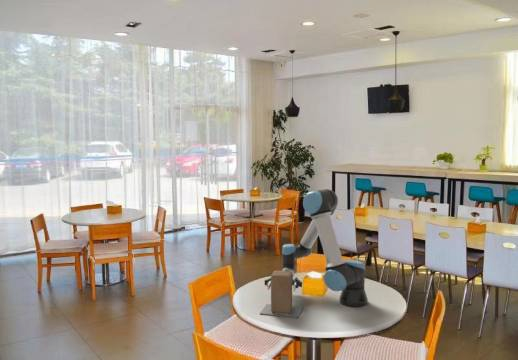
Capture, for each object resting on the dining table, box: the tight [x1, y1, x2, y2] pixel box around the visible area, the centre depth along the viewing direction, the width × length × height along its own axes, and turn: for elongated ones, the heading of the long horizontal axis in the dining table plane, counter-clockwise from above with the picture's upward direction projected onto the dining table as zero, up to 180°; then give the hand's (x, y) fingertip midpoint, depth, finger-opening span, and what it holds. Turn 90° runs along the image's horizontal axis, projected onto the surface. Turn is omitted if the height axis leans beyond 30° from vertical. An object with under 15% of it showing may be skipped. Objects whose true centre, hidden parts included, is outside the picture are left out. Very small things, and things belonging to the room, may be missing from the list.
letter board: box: [259, 303, 304, 319], centre depth 247 cm, size 20×14×1 cm
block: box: [270, 270, 293, 314], centre depth 246 cm, size 10×10×20 cm
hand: (281, 288), depth 244 cm, fingers open, 13 cm apart
